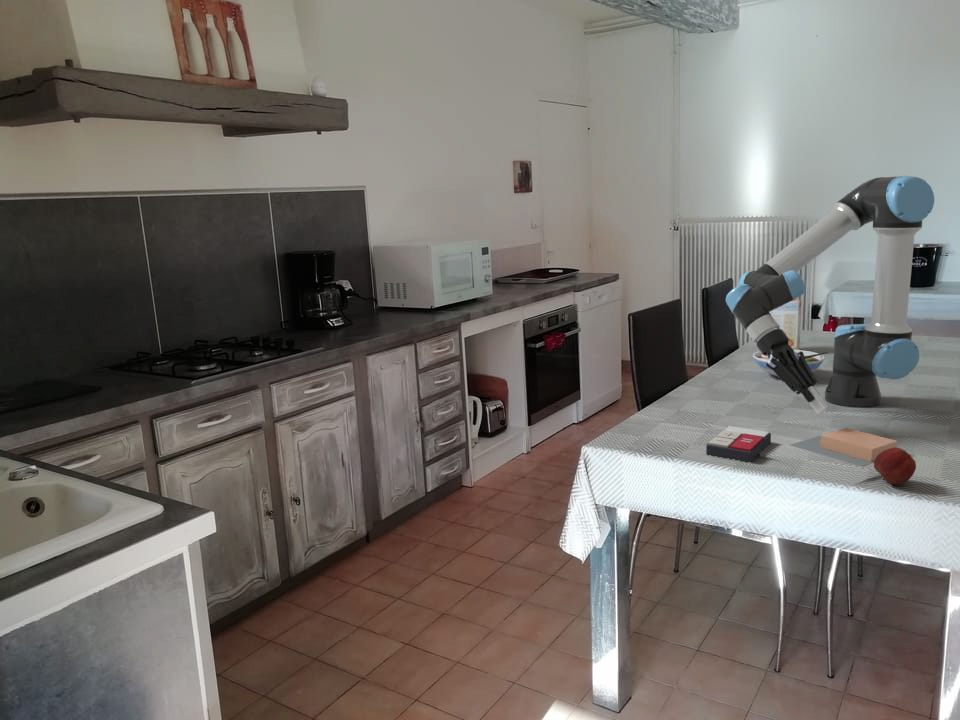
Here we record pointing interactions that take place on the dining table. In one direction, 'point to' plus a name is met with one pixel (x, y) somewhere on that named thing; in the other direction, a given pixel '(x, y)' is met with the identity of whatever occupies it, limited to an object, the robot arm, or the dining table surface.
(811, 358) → the ramen bowl
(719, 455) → the calculator
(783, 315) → the cracker box
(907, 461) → the apple
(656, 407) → the dining table surface
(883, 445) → the block
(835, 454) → the mat
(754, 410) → the dining table surface
